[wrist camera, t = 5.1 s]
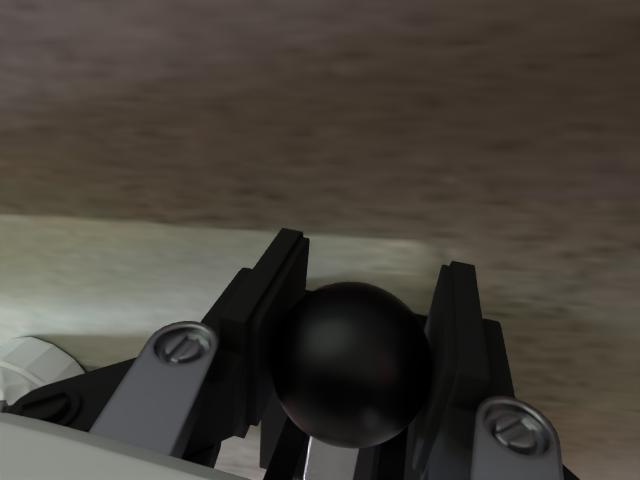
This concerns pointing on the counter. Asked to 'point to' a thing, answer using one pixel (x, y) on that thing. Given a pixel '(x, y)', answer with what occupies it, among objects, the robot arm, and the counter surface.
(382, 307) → the tap lever
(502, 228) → the counter surface
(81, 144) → the counter surface
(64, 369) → the white cup
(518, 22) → the counter surface
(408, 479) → the black lever stand
